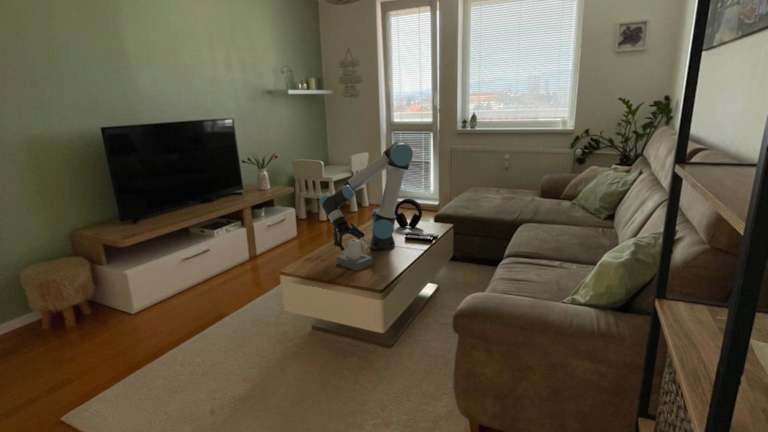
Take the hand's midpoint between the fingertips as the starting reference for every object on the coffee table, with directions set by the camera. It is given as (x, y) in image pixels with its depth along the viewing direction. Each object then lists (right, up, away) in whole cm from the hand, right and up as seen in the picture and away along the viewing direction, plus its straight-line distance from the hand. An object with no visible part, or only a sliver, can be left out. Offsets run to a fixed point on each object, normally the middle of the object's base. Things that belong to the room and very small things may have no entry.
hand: (357, 251), depth 227 cm
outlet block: (-2, -7, +4) cm, 8 cm away
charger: (-2, -6, +3) cm, 7 cm away
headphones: (+31, +11, +69) cm, 76 cm away
